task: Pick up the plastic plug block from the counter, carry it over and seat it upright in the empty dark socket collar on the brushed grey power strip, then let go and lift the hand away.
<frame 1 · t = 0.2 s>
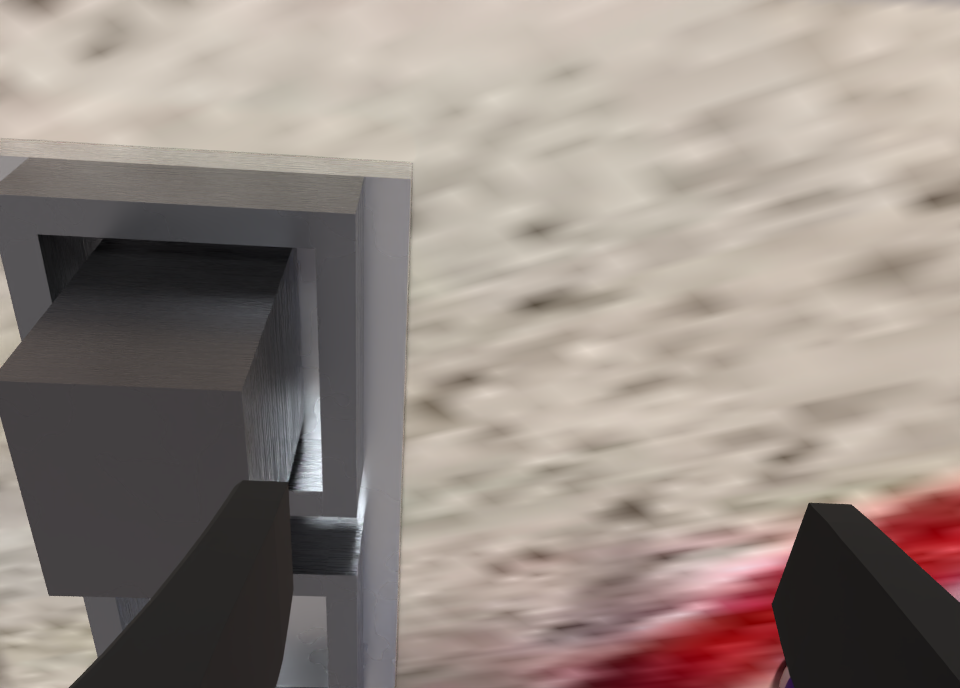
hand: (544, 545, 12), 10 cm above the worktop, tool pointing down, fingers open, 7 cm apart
power strip: (241, 492, 25), on the worktop
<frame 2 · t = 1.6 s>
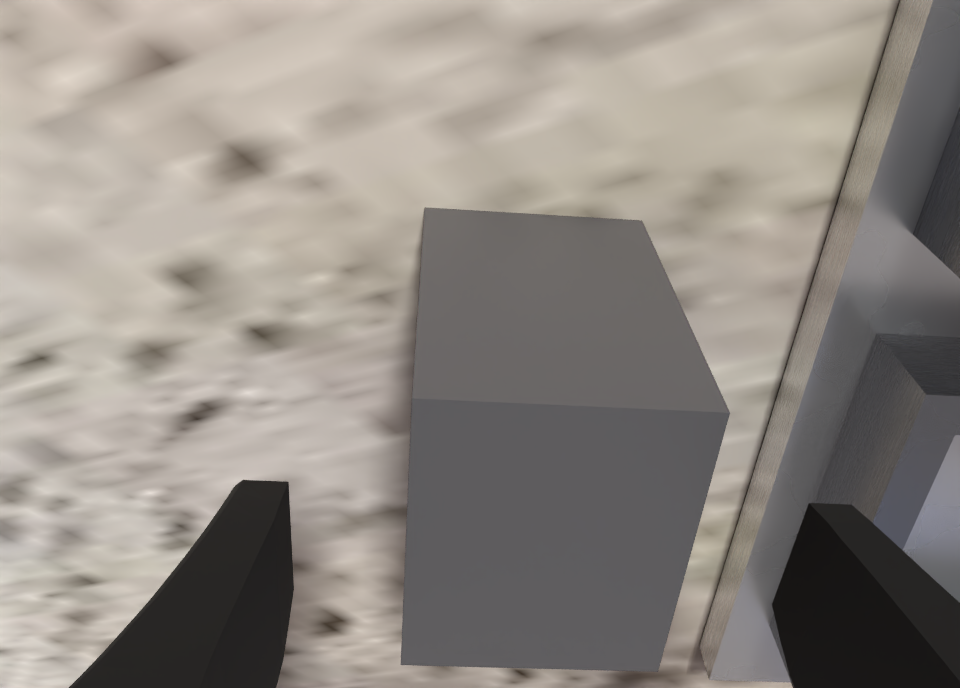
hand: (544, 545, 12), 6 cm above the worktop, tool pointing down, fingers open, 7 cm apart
plug block: (520, 330, 17), on the worktop
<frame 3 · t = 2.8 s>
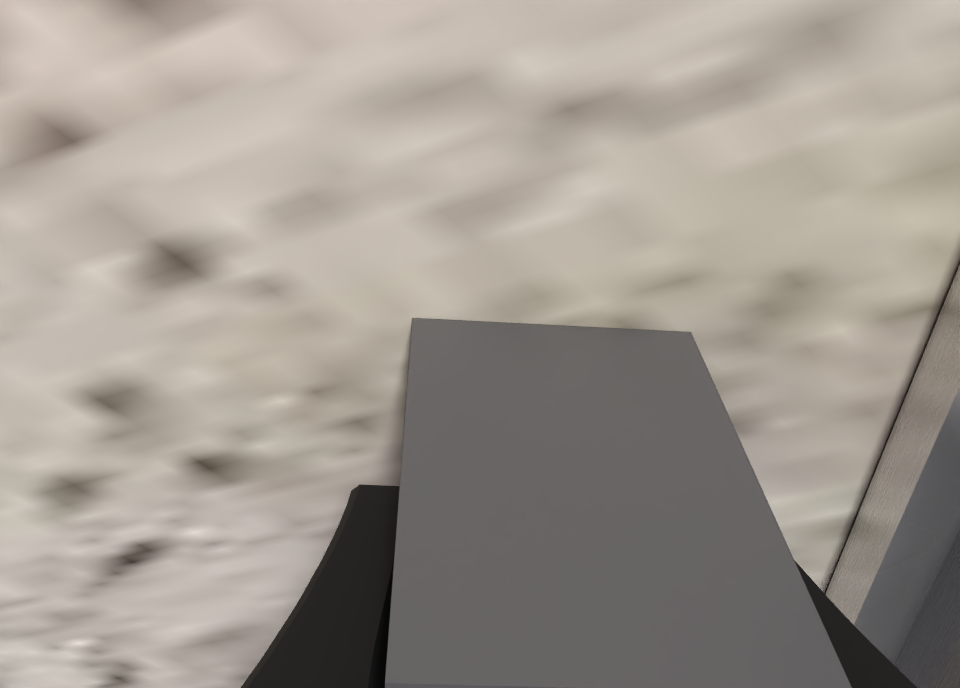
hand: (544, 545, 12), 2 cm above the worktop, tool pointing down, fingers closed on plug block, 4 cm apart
plug block: (534, 461, 14), on the worktop, touching gripper
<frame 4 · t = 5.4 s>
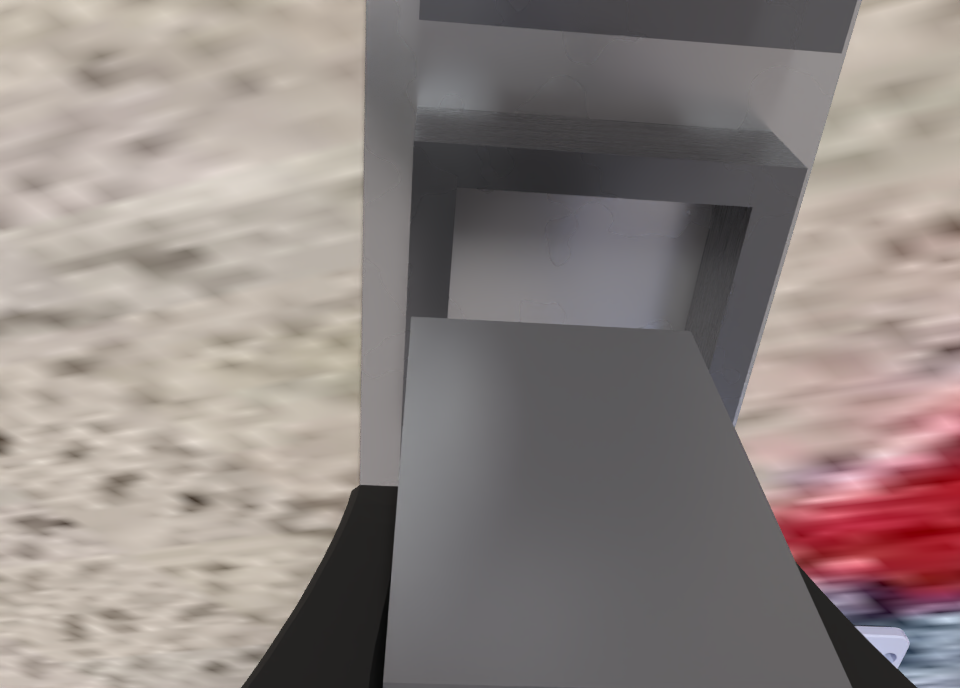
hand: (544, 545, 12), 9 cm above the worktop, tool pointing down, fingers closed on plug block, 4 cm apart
plug block: (533, 460, 14), point 7 cm above the worktop, touching gripper
power strip: (590, 103, 18), on the worktop
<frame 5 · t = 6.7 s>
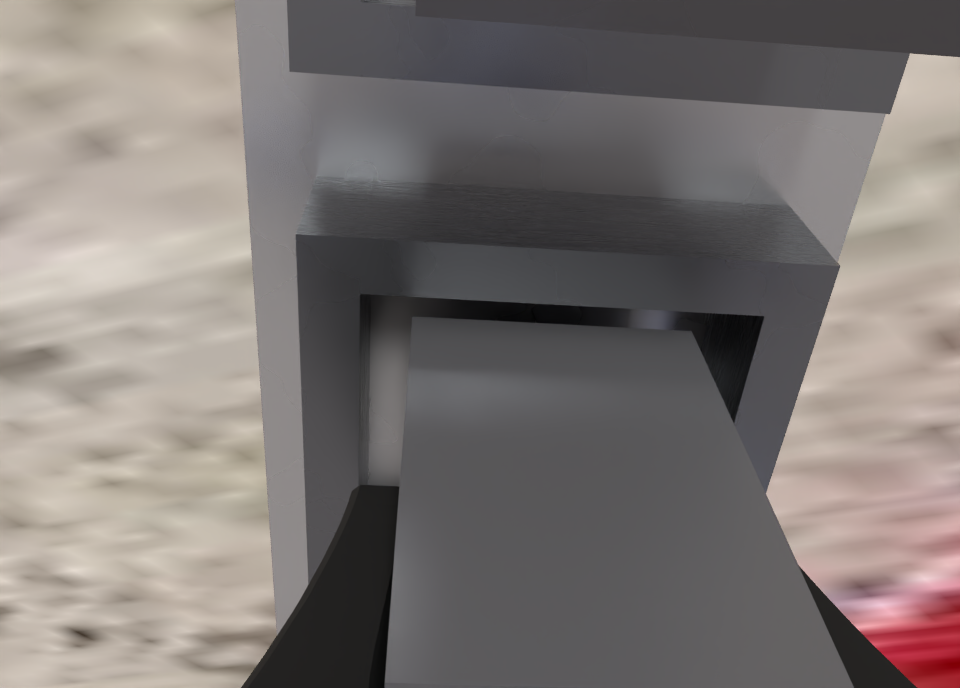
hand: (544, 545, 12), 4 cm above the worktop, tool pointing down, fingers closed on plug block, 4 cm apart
plug block: (534, 460, 14), point 2 cm above the worktop, touching gripper
power strip: (550, 166, 14), on the worktop
when the fingers open (4 cm above the worktop, at t = 7.6 s): plug block stays where it is, resting on power strip.
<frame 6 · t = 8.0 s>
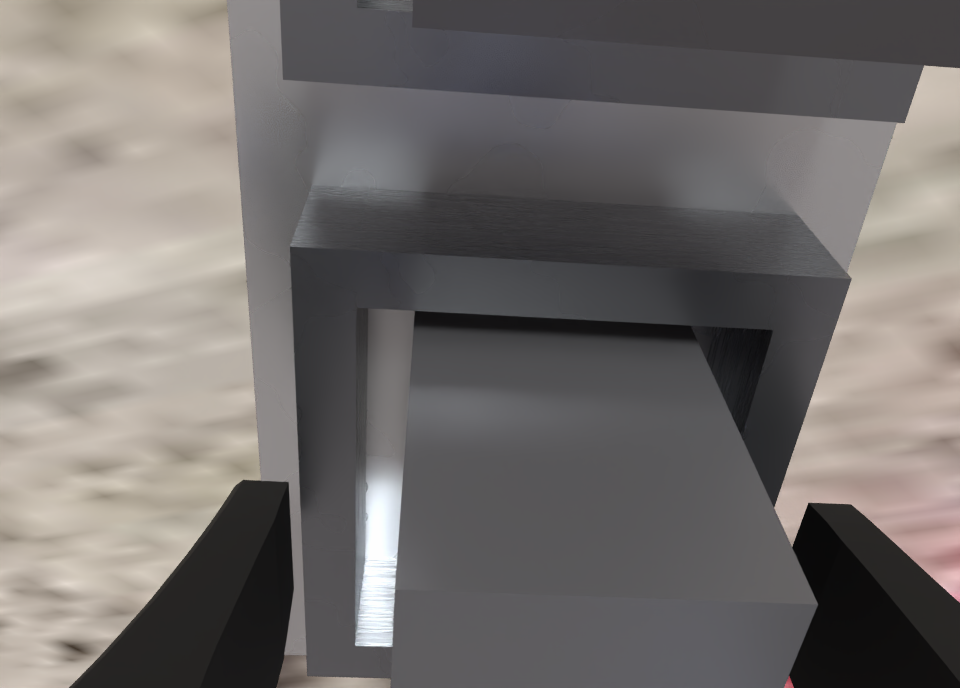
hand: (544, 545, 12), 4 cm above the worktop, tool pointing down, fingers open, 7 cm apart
plug block: (530, 422, 15), point 1 cm above the worktop, touching power strip
power strip: (552, 174, 13), on the worktop
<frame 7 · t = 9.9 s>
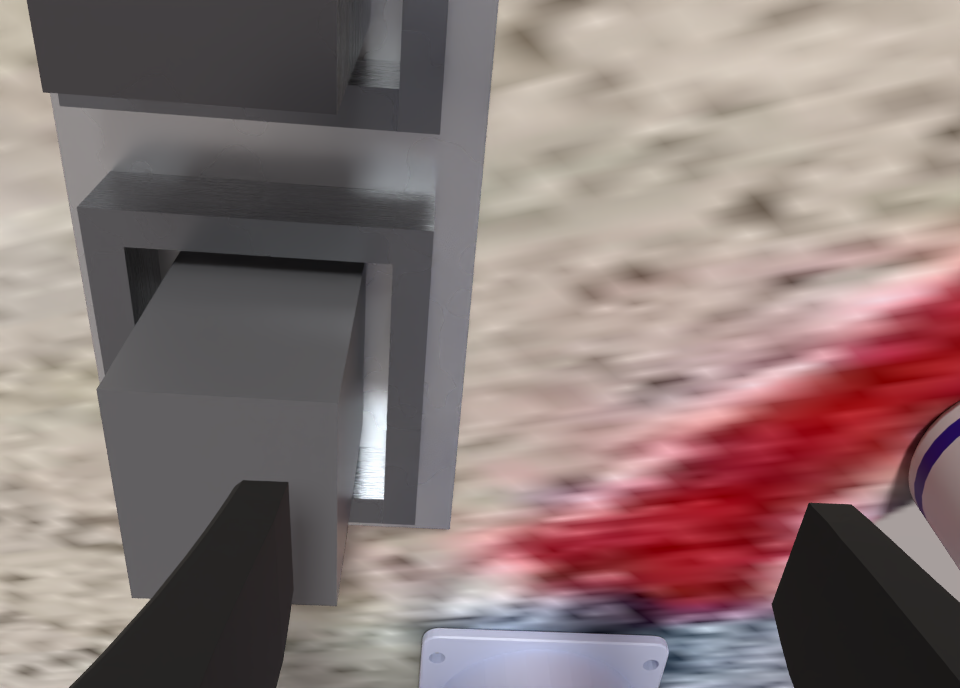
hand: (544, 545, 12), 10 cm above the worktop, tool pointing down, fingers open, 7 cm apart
plug block: (281, 337, 21), point 1 cm above the worktop, touching power strip
power strip: (282, 166, 20), on the worktop
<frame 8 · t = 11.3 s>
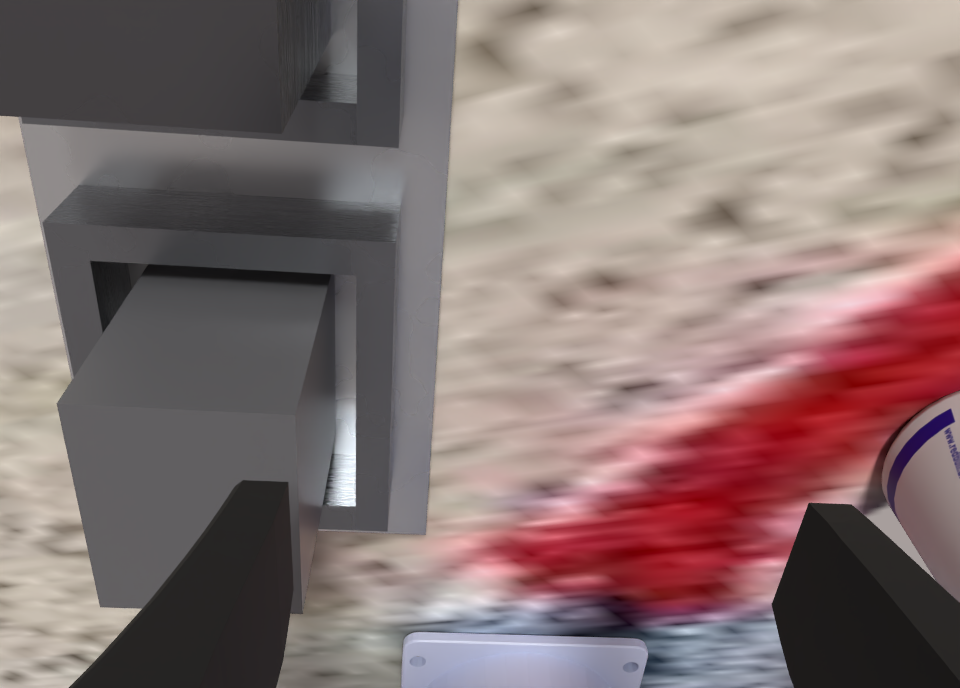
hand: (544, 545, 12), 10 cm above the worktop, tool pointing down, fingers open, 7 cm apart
plug block: (252, 347, 21), point 1 cm above the worktop, touching power strip
power strip: (250, 178, 20), on the worktop
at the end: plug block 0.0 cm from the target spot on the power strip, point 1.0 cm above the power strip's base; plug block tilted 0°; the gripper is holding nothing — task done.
